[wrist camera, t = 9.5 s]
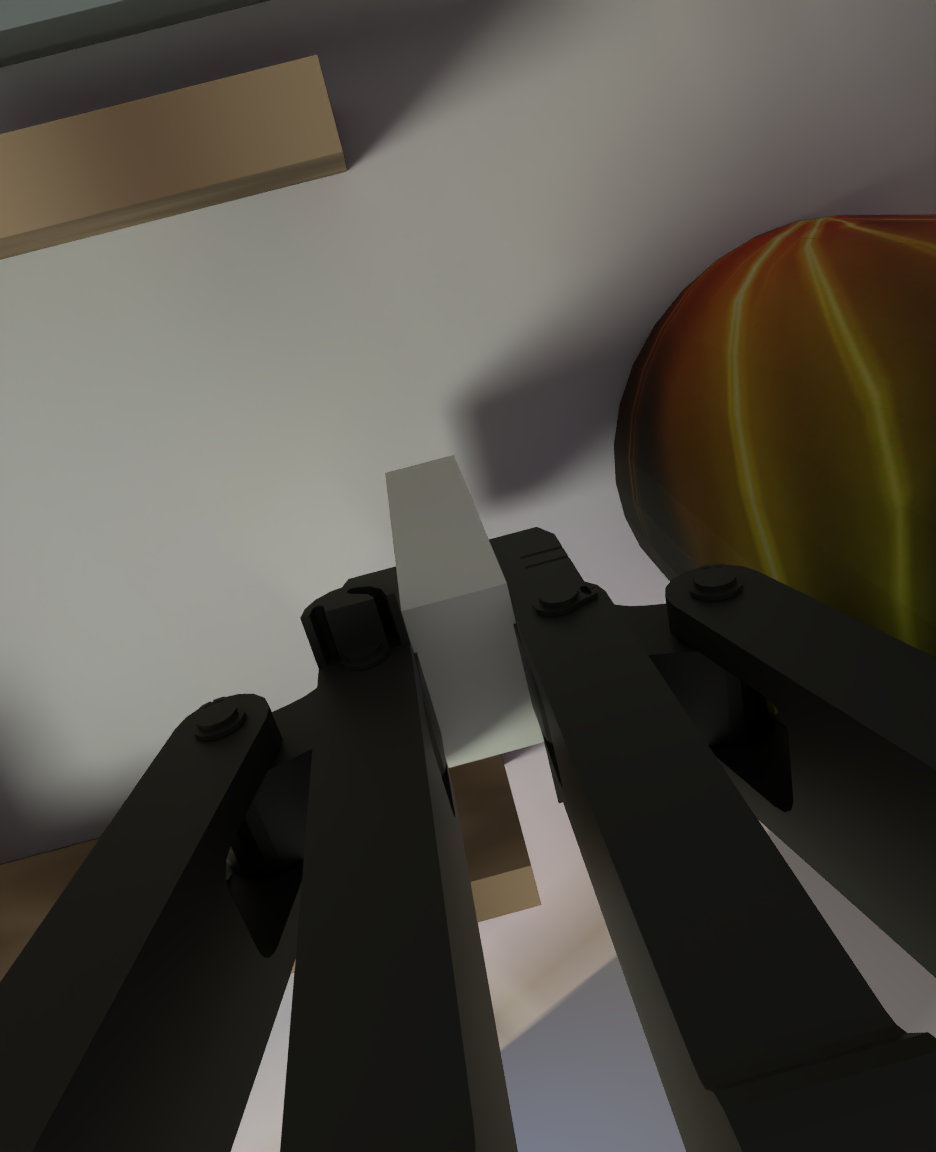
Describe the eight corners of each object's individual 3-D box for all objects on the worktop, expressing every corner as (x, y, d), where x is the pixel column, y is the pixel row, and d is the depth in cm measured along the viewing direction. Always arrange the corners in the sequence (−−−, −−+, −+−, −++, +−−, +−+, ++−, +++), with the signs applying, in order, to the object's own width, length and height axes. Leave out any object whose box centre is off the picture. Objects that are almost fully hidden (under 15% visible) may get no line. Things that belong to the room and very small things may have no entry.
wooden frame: (-101, 929, 22) (-220, 1112, 17) (-555, 326, 15) (-946, 371, 11) (504, 766, 22) (541, 904, 18) (329, 103, 15) (316, 54, 11)
